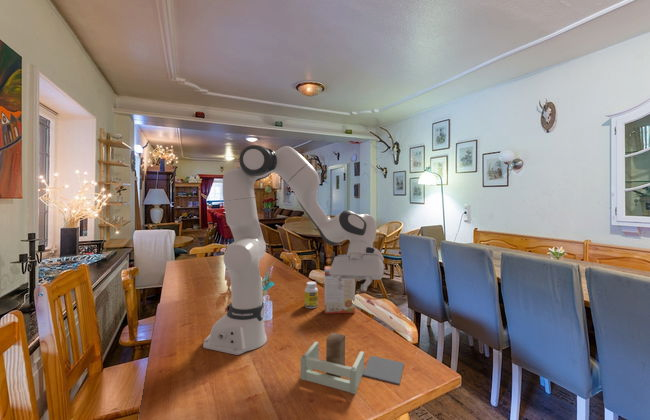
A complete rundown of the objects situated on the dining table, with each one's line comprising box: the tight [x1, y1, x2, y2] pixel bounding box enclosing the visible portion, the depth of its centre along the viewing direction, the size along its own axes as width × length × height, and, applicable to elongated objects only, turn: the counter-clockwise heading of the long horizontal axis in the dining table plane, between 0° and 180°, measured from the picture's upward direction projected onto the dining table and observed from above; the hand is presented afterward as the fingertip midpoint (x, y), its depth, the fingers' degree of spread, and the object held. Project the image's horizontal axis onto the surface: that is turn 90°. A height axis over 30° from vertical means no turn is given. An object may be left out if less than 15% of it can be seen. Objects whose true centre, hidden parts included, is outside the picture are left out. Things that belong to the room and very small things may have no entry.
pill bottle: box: [304, 280, 319, 309], centre depth 140 cm, size 6×6×12 cm
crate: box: [300, 341, 365, 395], centre depth 87 cm, size 17×10×6 cm, turn 68°
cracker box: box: [324, 265, 356, 314], centre depth 134 cm, size 14×6×21 cm, turn 92°
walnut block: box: [325, 332, 346, 378], centre depth 89 cm, size 4×4×11 cm
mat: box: [362, 355, 405, 386], centre depth 90 cm, size 11×11×1 cm
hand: (351, 289), depth 98 cm, fingers open, 8 cm apart
